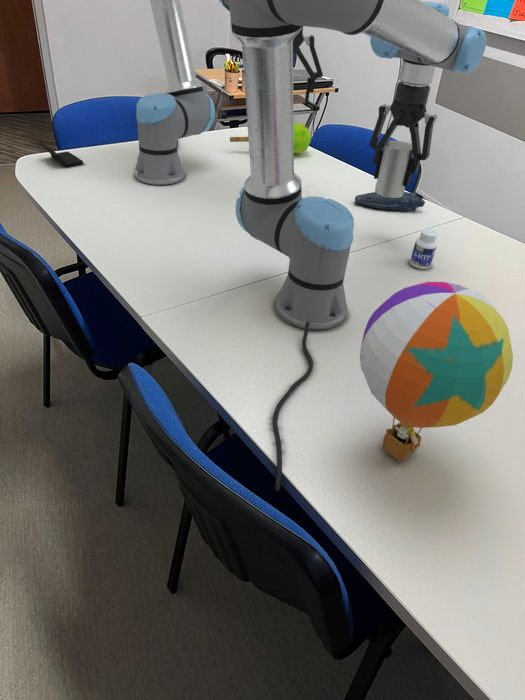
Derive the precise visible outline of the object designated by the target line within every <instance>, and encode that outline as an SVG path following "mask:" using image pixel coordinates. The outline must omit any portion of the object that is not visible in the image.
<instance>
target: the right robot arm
mask: <svg viewBox="0 0 525 700" xmlns="http://www.w3.org/2000/svg"><path fill="white" fill-rule="evenodd" d="M218 1H219V2H220V3H221V5H222V7H224V8H225V9H226V10H227V11H228V12H229V14H230V15H229V16H230V27H231V28H230V29H231V34H232V35H233V36H234V38H236V39H237V40H238V41H239V43H241V51H242V66H243V81H244V93H245V94H244V95H245V107H246V123H247V137H248V138H249V142H248V149H249V165H250V175H249V176H248V177H247V178H246V179H245V181H244V186H242V188H241V189H240V191H239V195H240V196H239V197H237V198H236V200H235V201H236V202H235V216H236V220H237V222H238V224H239V226H240V227H241V228H242V229H243V231H244V232H246V233H248V234H249V235H250V236H251V237H252V238H254V239H255V240H257V241H260V242H261V243H264V244H265V245H267V246H269V247H271V248H273V249H274V250H276V251H277V252H279V253H280V254H282V255H284V256H286V257H288V259H289V262H288V263H289V264H288V270H287V271H288V272H287V275H286V278H285V279H284V282H283V283H282V285H281V287H280V290H279V291H278V294H277V296H276V300H275V311H276V313H277V315H278V316H279V317H280V318H281V319H282V320H283V321H284V322H286V323H287V324H289V325H291V326H293V327H296V328H300V329H304V331H303V332H304V333H303V336H302V341H301V347H302V351H303V353H304V355H305V357H306V358H307V361H308V368H307V371H306V372H305V373H304V374H303V375H302V376H301V377H299V378H298V379H297V380H296V381H295V382H293V384H292V385H291V386H290V387H289V388H288V390H287V391H286V392H285V393H284V395H283V396H282V397H281V398H280V399H279V401H278V403H277V404H276V406H275V408H274V411H273V414H272V430H273V433H274V434H273V435H274V439H275V443H276V445H275V446H276V474H275V484H274V489H275V491H276V492H279V491H280V490H281V486H282V474H283V473H282V472H283V451H282V449H283V447H282V441H281V435H280V432H279V427H278V419H279V418H278V417H279V414H280V410H281V408H282V406H283V404H285V401H287V399H288V398H289V397H290V395H292V393H293V392H294V391H295V389H297V387H298V386H299V385H300V384H302V383H303V382H304V381H305V380H307V378H308V377H309V376H310V375H311V374H312V371H313V368H314V361H313V358H312V356H311V354H310V353H309V350H308V348H307V339H308V335H309V330H310V331H324V330H325V331H326V330H329V329H333V328H336V327H337V326H339V325H340V324H342V323H343V322H344V320H345V318H346V315H347V310H348V305H347V297H346V292H345V286H344V280H345V275H346V271H347V267H348V262H349V257H350V253H351V252H350V251H351V246H352V244H353V241H354V230H355V229H354V228H355V221H354V220H355V218H354V216H353V214H352V213H351V211H350V209H348V208H347V207H346V206H345V205H344V204H343V203H341V202H339V201H337V200H334V199H333V198H329V197H328V198H324V196H316V195H315V196H313V195H312V196H307V197H304V198H303V196H302V194H303V193H302V179H301V177H300V176H299V175H298V174H296V173H295V154H294V126H293V124H294V53H293V39H294V38H295V37H296V35H297V34H298V33H299V32H300V31H301V29H302V26H303V27H308V28H316V29H317V28H318V29H327V30H331V31H336V32H340V33H343V34H344V35H347V36H356V35H360V34H364V35H366V36H367V37H369V41H370V47H371V50H372V52H373V53H374V55H376V56H377V57H379V58H381V59H387V60H392V59H394V58H397V59H400V60H401V61H402V62H401V64H400V65H401V66H400V70H399V74H398V80H399V82H397V84H396V88H395V93H394V97H393V102H392V103H391V104H386V103H384V104H382V105H380V106H379V107H378V117H377V119H376V123H375V126H374V129H373V132H372V135H371V138H370V141H369V144H368V146H369V147H370V148H372V149H374V156H373V161H372V162H373V164H374V165H375V170H374V173H373V179H375V180H377V178H378V173H379V169H380V164H381V159H382V155H383V150H384V145H385V142H387V141H390V138H391V137H392V135H393V133H394V132H395V131H396V129H397V128H398V126H399V127H402V126H403V127H405V128H407V129H409V133H410V140H411V144H412V150H413V158H412V159H411V160H410V162H409V167H408V171H407V175H406V179H405V183H404V187H405V188H407V187H408V186H410V185H411V181H412V177H413V175H415V174H416V173H417V172H418V170H419V166H420V162H421V161H426V160H427V159H428V158H429V157H430V153H431V145H432V138H433V131H434V125H435V123H436V121H437V119H438V116H437V115H436V114H431V113H428V112H427V104H428V101H429V100H428V99H429V95H430V91H431V87H430V85H431V84H432V83H433V79H434V76H435V72H436V68H439V69H441V70H442V69H443V70H446V71H450V72H453V73H461V74H470V73H472V72H473V71H474V70H476V68H478V66H479V64H480V62H481V61H482V58H483V56H484V54H485V51H486V48H487V36H486V33H485V31H484V30H482V29H481V28H477V27H474V26H473V25H469V26H468V25H465V24H464V25H463V24H461V23H459V22H457V21H455V20H454V19H451V18H450V17H449V14H450V8H449V5H447V4H445V3H443V2H442V3H441V2H436V1H423V0H218ZM389 113H391V115H392V120H391V122H390V124H389V126H388V128H387V129H386V130H385V132H384V134H383V135H382V137H381V139H380V136H381V134H382V131H383V128H384V125H385V121H386V120H387V115H389ZM423 119H424V124H425V127H424V134H423V143H422V149H421V138H420V130H419V129H420V123H419V122H420V121H421V120H423ZM379 139H380V140H379Z"/></svg>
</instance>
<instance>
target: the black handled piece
mask: <svg viewBox="0 0 525 700" xmlns="http://www.w3.org/2000/svg"><path fill="white" fill-rule="evenodd" d="M38 143H39V144H40V145H41V146H42V147H43V149H45V150H46V151H47V152H48V153H49V154H50V156H51V158H52V159H54V160H55V161H57V162H58V163H60V164H61V165H62V166H64V167H66V168H69V167H74V166H79V165H84V161H83V160H82V159H81V158H79V157H78V156H76V155H74V154H73V153H71V152H69V151H61V152H56V151H55V150H53V149H52V148H51V147H49V146H48V145H46V144H44V143H42V142H41V141H39V142H38Z"/></svg>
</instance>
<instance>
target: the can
mask: <svg viewBox="0 0 525 700" xmlns="http://www.w3.org/2000/svg"><path fill="white" fill-rule="evenodd" d="M382 150H383V155H382V159H381V164H380V169H379V173H378V178H377V179H376V182H375V188H374V192H376V193H377V194H379V195H381V196H384V197H389V198H399V197H402V196H403V194H404V192H405V188H406V187H404V183H405V179H406V175H407V171H408V167H409V162H410V160H411V159H412V158H413V150H412V143H410V142H407V141H402V140H388V141H387V142H385V145H384V148H383V149H382Z"/></svg>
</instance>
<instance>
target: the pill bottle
mask: <svg viewBox="0 0 525 700" xmlns="http://www.w3.org/2000/svg"><path fill="white" fill-rule="evenodd" d="M438 235H439V233H438V231H435V230H434V229H430V228H423V229H422V230H421V231H420V235H419V237H417V238H416V239H415V242H414V245H413V249H412V252H411V255H410V259H409V264H410V265H411V266H413V267H414V268H417V269H420V270H421V269H422V270H426V269H429V268H430V267H431V265H432V264H433V263H432V262H433V259H434V256H435V254H436V250H437V247H438V242H437V238H438Z"/></svg>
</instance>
